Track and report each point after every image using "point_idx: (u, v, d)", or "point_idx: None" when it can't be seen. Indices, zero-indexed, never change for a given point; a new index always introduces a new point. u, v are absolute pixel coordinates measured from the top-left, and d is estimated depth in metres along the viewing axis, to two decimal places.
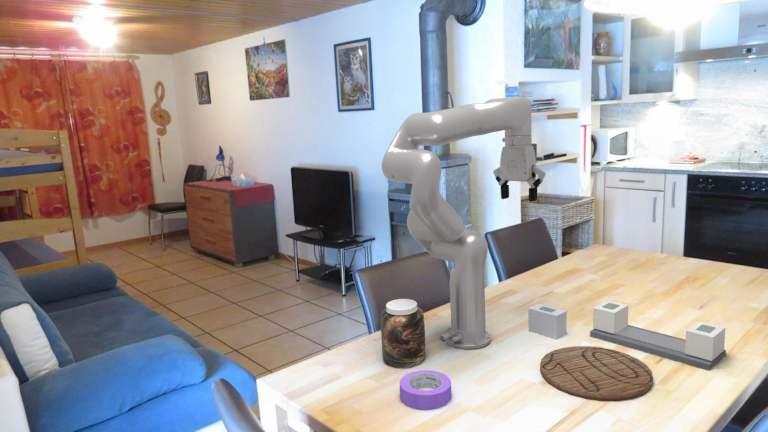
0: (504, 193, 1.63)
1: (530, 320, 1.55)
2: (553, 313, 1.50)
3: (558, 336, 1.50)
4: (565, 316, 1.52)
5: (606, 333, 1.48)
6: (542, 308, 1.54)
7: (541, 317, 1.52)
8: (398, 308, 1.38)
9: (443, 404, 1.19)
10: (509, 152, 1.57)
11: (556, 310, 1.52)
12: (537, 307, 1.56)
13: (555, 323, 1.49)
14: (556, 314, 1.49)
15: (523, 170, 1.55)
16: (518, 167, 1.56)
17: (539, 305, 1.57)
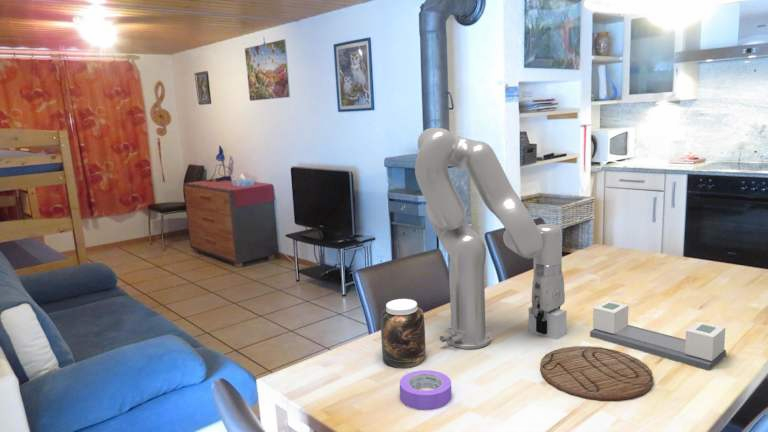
0: None
1: (530, 320, 1.55)
2: (553, 313, 1.50)
3: (558, 336, 1.50)
4: (565, 316, 1.52)
5: (606, 333, 1.48)
6: None
7: None
8: (398, 308, 1.38)
9: (443, 404, 1.19)
10: (554, 280, 1.49)
11: (556, 310, 1.52)
12: None
13: (555, 323, 1.49)
14: (556, 314, 1.49)
15: (563, 294, 1.53)
16: (560, 293, 1.52)
17: None
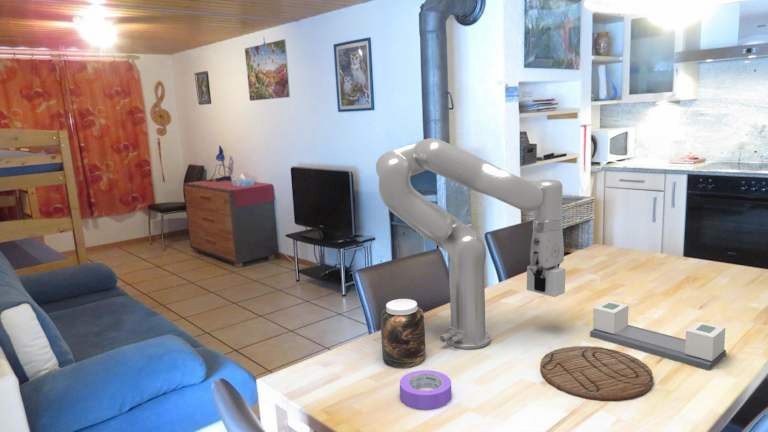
0: None
1: (528, 278, 1.53)
2: (551, 270, 1.48)
3: (556, 293, 1.48)
4: (564, 274, 1.49)
5: (606, 333, 1.48)
6: None
7: None
8: (398, 308, 1.38)
9: (443, 404, 1.19)
10: (553, 237, 1.47)
11: (555, 268, 1.50)
12: None
13: (554, 280, 1.47)
14: (555, 271, 1.47)
15: (562, 252, 1.51)
16: (559, 250, 1.49)
17: None
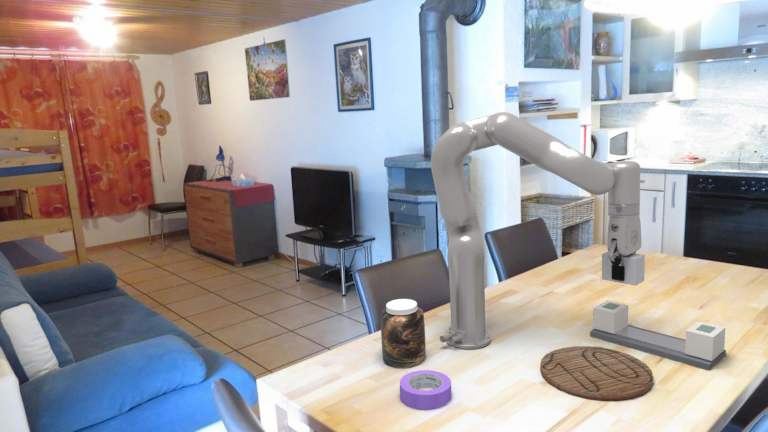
0: None
1: (604, 267, 1.44)
2: (630, 257, 1.39)
3: (637, 282, 1.39)
4: (644, 261, 1.40)
5: (606, 333, 1.48)
6: (617, 253, 1.43)
7: None
8: (398, 308, 1.38)
9: (443, 404, 1.19)
10: (632, 221, 1.38)
11: (633, 254, 1.41)
12: None
13: (634, 267, 1.38)
14: (635, 257, 1.38)
15: (640, 238, 1.42)
16: (637, 236, 1.40)
17: None
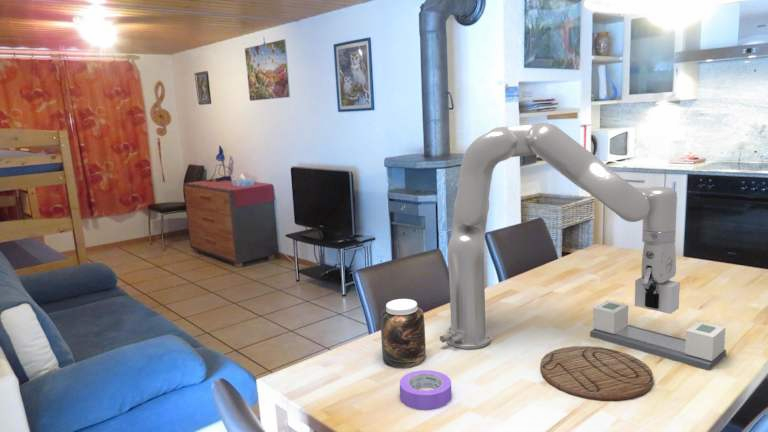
0: None
1: (637, 293, 1.42)
2: (665, 284, 1.37)
3: (672, 310, 1.36)
4: (679, 288, 1.38)
5: (606, 333, 1.48)
6: (651, 280, 1.40)
7: None
8: (398, 308, 1.38)
9: (443, 404, 1.19)
10: (668, 249, 1.35)
11: (668, 281, 1.39)
12: None
13: (669, 295, 1.35)
14: (670, 285, 1.36)
15: (674, 265, 1.39)
16: (672, 263, 1.38)
17: None
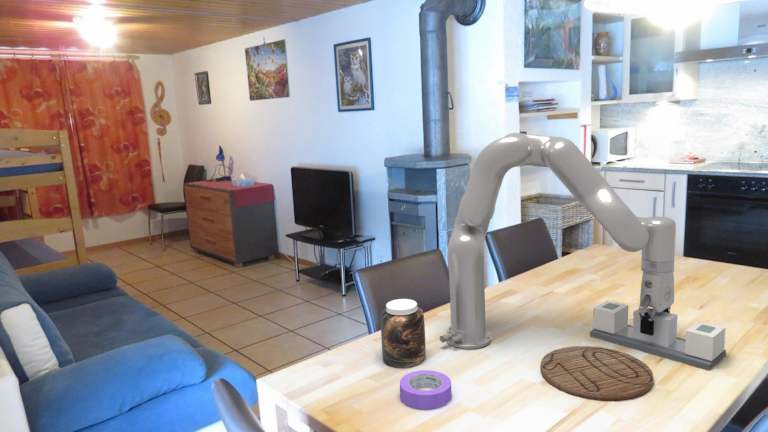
0: None
1: (635, 325, 1.43)
2: (663, 317, 1.38)
3: (669, 342, 1.38)
4: (676, 321, 1.40)
5: (606, 333, 1.48)
6: (649, 312, 1.42)
7: None
8: (398, 308, 1.38)
9: (443, 404, 1.19)
10: (666, 278, 1.37)
11: (665, 314, 1.40)
12: None
13: (667, 328, 1.37)
14: (668, 318, 1.37)
15: (673, 293, 1.41)
16: (670, 292, 1.39)
17: None
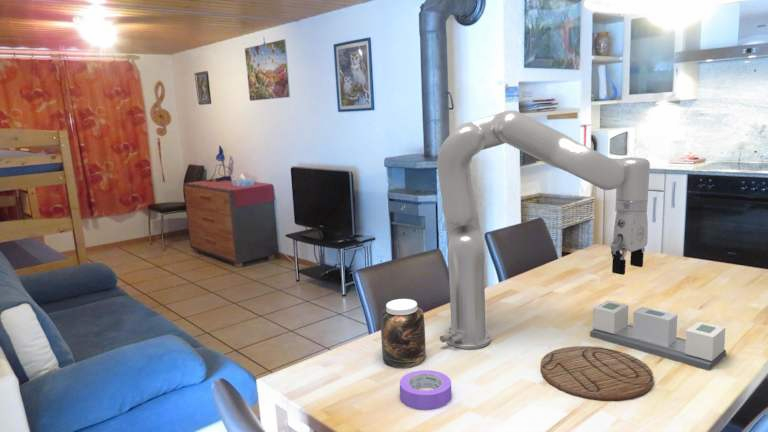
0: None
1: (635, 325, 1.43)
2: (663, 317, 1.38)
3: (669, 342, 1.38)
4: (676, 321, 1.40)
5: (606, 333, 1.48)
6: (649, 312, 1.42)
7: (649, 322, 1.40)
8: (398, 308, 1.38)
9: (443, 404, 1.19)
10: (639, 218, 1.38)
11: (665, 314, 1.40)
12: (642, 310, 1.43)
13: (667, 328, 1.37)
14: (668, 318, 1.37)
15: (646, 235, 1.42)
16: (643, 233, 1.41)
17: (643, 308, 1.45)
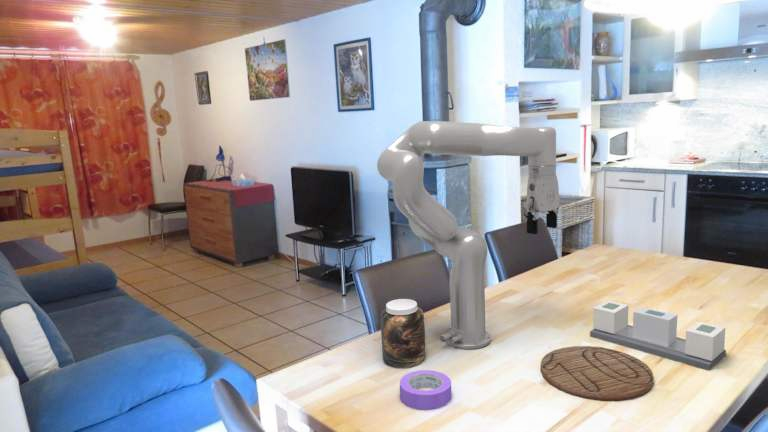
0: None
1: (635, 325, 1.43)
2: (663, 317, 1.38)
3: (669, 342, 1.38)
4: (676, 321, 1.40)
5: (606, 333, 1.48)
6: (649, 312, 1.42)
7: (649, 322, 1.40)
8: (398, 308, 1.38)
9: (443, 404, 1.19)
10: (548, 182, 1.51)
11: (665, 314, 1.40)
12: (642, 310, 1.43)
13: (667, 328, 1.37)
14: (668, 318, 1.37)
15: (557, 198, 1.55)
16: (554, 196, 1.54)
17: (643, 308, 1.45)
